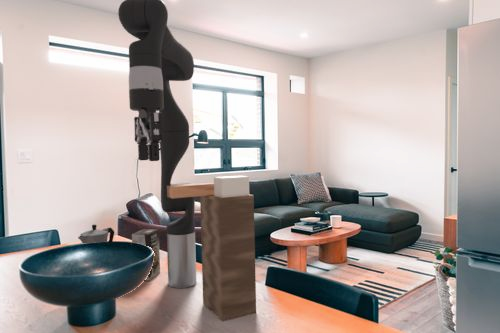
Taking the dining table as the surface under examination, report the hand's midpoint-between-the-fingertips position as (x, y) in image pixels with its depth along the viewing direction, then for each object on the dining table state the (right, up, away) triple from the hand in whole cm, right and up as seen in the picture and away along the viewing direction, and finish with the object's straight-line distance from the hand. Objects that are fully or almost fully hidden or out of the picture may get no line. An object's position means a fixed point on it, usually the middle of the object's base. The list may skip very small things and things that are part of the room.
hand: (148, 160), depth 91 cm
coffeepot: (-32, -40, +55) cm, 75 cm away
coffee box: (-13, -40, +50) cm, 65 cm away
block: (+18, -9, +16) cm, 26 cm away
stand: (+17, -41, +20) cm, 49 cm away
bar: (+11, -9, +19) cm, 23 cm away
